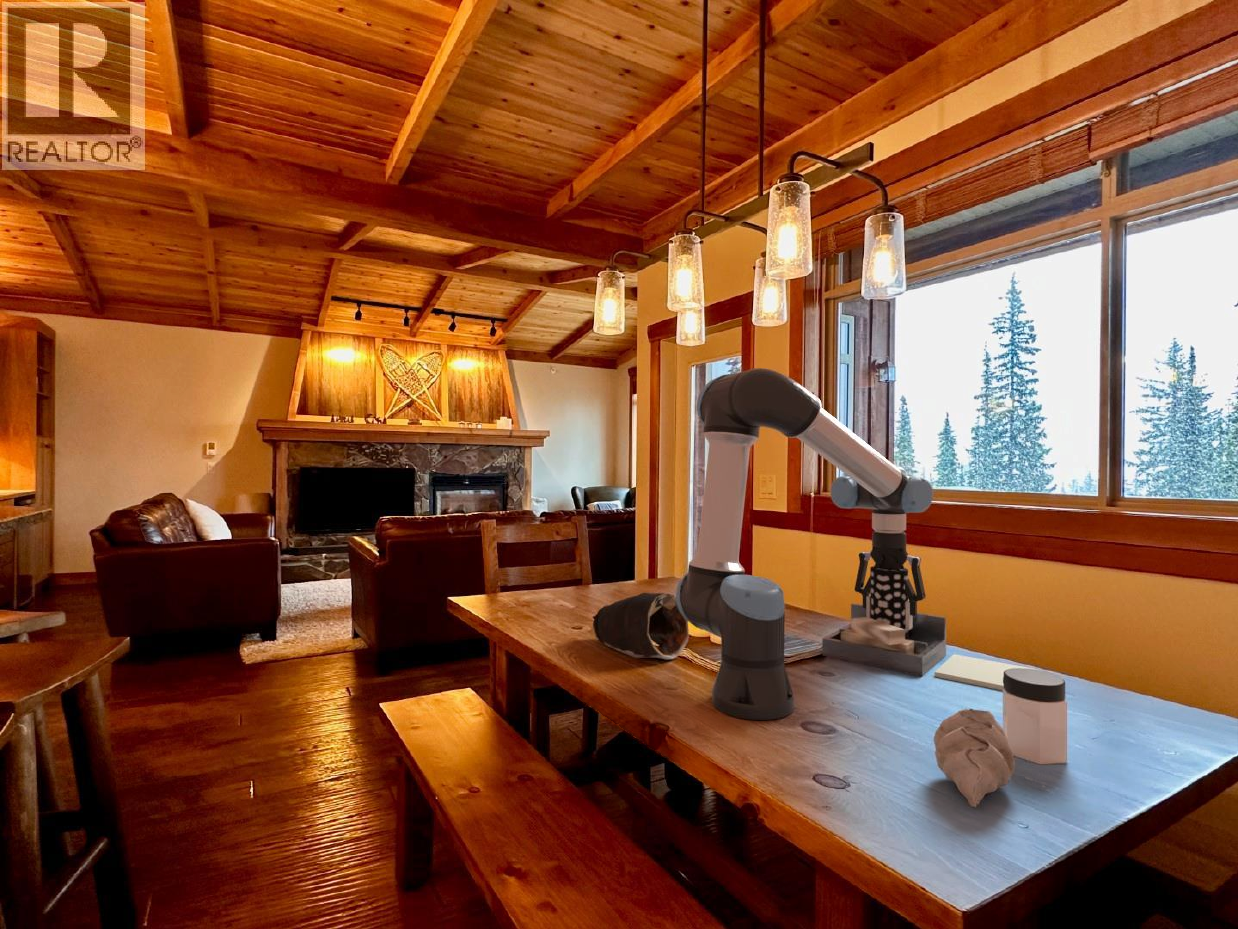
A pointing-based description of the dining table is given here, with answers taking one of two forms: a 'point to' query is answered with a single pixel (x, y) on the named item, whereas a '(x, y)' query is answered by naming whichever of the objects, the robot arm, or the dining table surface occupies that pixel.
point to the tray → (926, 644)
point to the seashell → (974, 753)
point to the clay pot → (643, 626)
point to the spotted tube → (888, 596)
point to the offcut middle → (876, 642)
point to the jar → (1035, 715)
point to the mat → (974, 671)
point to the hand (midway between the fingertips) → (889, 625)
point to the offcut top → (878, 630)
